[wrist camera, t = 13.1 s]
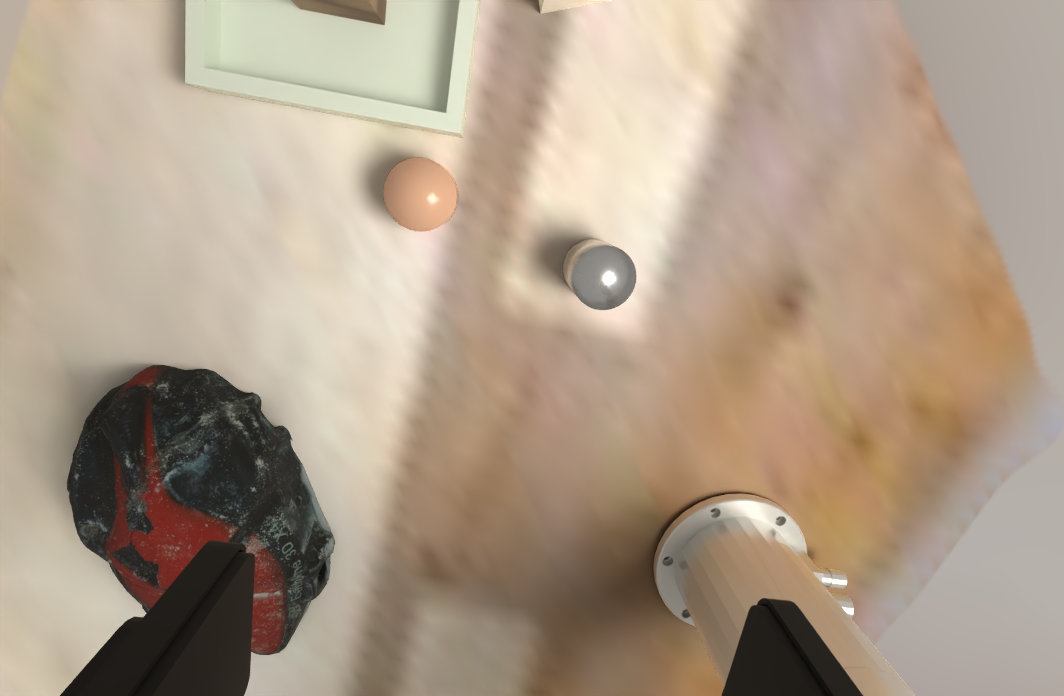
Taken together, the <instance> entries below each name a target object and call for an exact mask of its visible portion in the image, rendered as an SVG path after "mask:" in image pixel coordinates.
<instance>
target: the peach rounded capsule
mask: <svg viewBox="0 0 1064 696" xmlns="http://www.w3.org/2000/svg"><path fill="white" fill-rule="evenodd" d="M383 195H384V201H385V205H386V208H387V210H388V212H389V213H390V215H391V216H392V217H393V219H394V220H395V221H396V222H398V223H399V224H400V225H402V226H403V227H405V228H407V229H410V230H414V231H429V230H432V229H435V228H437V227H439V226H441V225H443V224H444V223H446V222H447V221H448V220H449V219H450V218H451V217H452V215H453V214H454V212H455V210H456V207H457V204H458V189H457V185H456V182H455V180H454V178H453V177H452V175H451V174H450V173H449V172H448V171H447V170H446V169H445V168H444V167H442V166H441V165H439V164H437V163H435V162H434V161H431V160H429V159H425V158H410V159H406V160H404V161H402V162H400V163H398V164H397V165H396V166H395V167H394V168H393V169H392V170H391V171H390V172H389V174H388V176H387V178H386V180H385V184H384V191H383Z"/></svg>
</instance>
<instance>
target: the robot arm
mask: <svg viewBox="0 0 1064 696" xmlns="http://www.w3.org/2000/svg"><path fill="white" fill-rule="evenodd" d="M653 570H654V578H655V583H656V585H657V588H658V591H659V594H660V596H661V598H662V600H663V602H664V604H665V605H666V606H667V607H668V609H669V610H670V611H671V612H672V613H673V614H674V615H675V616H676V617H677V618H679V619H680V620H682V621H683V622H685V623H687V624H689V625H691V626H693V627H696V629H697V631H698V633H699V636H700V638H701V640H702V642H703V644H704V646H705V649H706V651H707V653H708V655H709V657H710V659H711V662H712V664H713V666H714V668H715V670H716V672H717V675H718V677H719V679H720V681H721V683H722V685H723V688H724V690H723V693H722V696H916V695H915V694H914V693H913V692H912V690H911V689H910V688H909V687H908V686H907V684H906V683H905V682H904V681H903V680H902V678H901V677H900V676H899V675H898V674H897V673H896V671H895V670H894V669H893V668H892V667H891V665H890V664H889V663H888V662H887V661H886V660H885V658H884V657H883V656H882V655H881V654H880V652H879V651H878V650H877V649H876V648H875V646H874V645H873V644H872V643H871V641H870V640H869V639H868V638H867V637H866V635H865V634H864V633H863V632H862V631H861V629H860V628H859V627H858V626H857V625H856V623H855V622H854V621H853V620H852V619H851V618H852V616H853V612H854V607H853V603H852V601H851V599H850V597H849V596H847V595H846V594H838V593H830V592H829V591H828V590H827V589H826V588H825V586H827V587H833V588H845V587H846V585H847V577H846V574H845V573H844V572H843V571H842V570H836V569H827V568H826V569H819V568H818V567H817V566H816V565H815V564H814V562H813V561H812V560H811V559H810V558H809V557H808V555H807V545H806V542H805V538H804V535H803V533H802V531H801V529H800V527H799V526H798V524H797V523H796V522H795V521H794V519H793V518H792V517H791V516H790V515H789V514H788V513H787V512H786V511H785V510H784V509H783V508H782V507H780V506H779V505H777V504H776V503H774V502H772V501H770V500H768V499H766V498H762V497H759V496H756V495H750V494H742V493H740V494H725V495H721V496H717V497H712V498H710V499H707V500H705V501H702V502H700V503H698V504H696V505H694V506H693V507H691V508H689V509H688V510H686V511H685V512H684V513H682V514H681V515H680V516H679V517H678V518H677V519H675V520H674V521H673V523H672V524H671V525H670V526H669V528H668V529H667V530H666V531H665V533H664V535H663V536H662V538H661V540H660V542H659V544H658V547H657V550H656V553H655V557H654V567H653ZM254 574H255V555H254V554H253V553H246V547H245V545H244V544H243V543H234V542H224V541H215V540H210V541H208V542H207V543H206V544H205V545H204V546H203V547H202V548H201V549H200V551H199V552H198V553H197V554H196V555H195V557H194V558H193V559H192V560H191V561H190V562H189V564H188V565H187V566H186V567H185V568H184V570H183V571H182V572H181V573H180V574H179V576H178V577H177V578H176V579H175V580H174V582H173V583H172V584H171V585H170V586H169V588H168V589H167V590H166V591H165V592H164V593H163V595H162V596H161V597H160V598H159V599H158V601H157V602H156V603H155V604H154V605H153V607H152V608H151V609H150V610H149V611H148V613H147V614H146V615H145V616H144V617H143V618H142V617H133V618H131V619H129V620H127V621H126V622H125V623H124V624H123V625H122V626H121V627H120V628H119V629H118V630H117V631H116V632H115V633H114V634H113V635H112V637H111V638H110V639H109V640H108V641H107V642H106V643H105V645H104V646H103V647H102V648H101V649H100V650H99V651H98V653H97V654H96V655H95V656H94V657H93V658H92V659H91V661H90V662H89V663H88V664H87V665H86V666H85V667H84V669H83V670H82V671H81V672H80V673H79V674H78V676H77V677H76V678H75V679H74V680H73V681H72V682H71V684H70V685H69V686H68V687H67V688H66V689H65V690H64V692H63V693H62V694H61V695H60V696H244V694H245V692H246V689H247V685H248V681H249V676H250V661H251V639H252V618H253V596H254Z"/></svg>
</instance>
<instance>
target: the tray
mask: <svg viewBox="0 0 1064 696" xmlns="http://www.w3.org/2000/svg"><path fill="white" fill-rule="evenodd" d="M480 2H481V0H387V4H386V17H385V25H380V24H375V23H370V22H365V21H359V20H354V19H349V18H344V17H338V16H333V15H328V14H323V13H317V12H312V11H307V10H302V9H300V8H299V7H297V6H296V5H295V4H294V3H293V2H292V1H291V0H186V18H185V83H187V84H190V85H192V86H195V87H198V88H201V89H203V90H206V91H210V92H216V93H221V94H227V95H232V96H238V97H243V98H249V99H254V100H259V101H265V102H270V103H276V104H281V105H287V106H292V107H298V108H303V109H309V110H314V111H319V112H325V113H330V114H336V115H341V116H347V117H352V118H358V119H363V120H369V121H374V122H379V123H385V124H390V125H396V126H401V127H407V128H412V129H418V130H423V131H428V132H434V133H439V134H445V135H450V136H456V137H461V138H463V135H464V127H465V119H466V111H467V103H468V95H469V88H470V80H471V72H472V64H473V56H474V48H475V41H476V33H477V25H478V17H479V9H480Z"/></svg>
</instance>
